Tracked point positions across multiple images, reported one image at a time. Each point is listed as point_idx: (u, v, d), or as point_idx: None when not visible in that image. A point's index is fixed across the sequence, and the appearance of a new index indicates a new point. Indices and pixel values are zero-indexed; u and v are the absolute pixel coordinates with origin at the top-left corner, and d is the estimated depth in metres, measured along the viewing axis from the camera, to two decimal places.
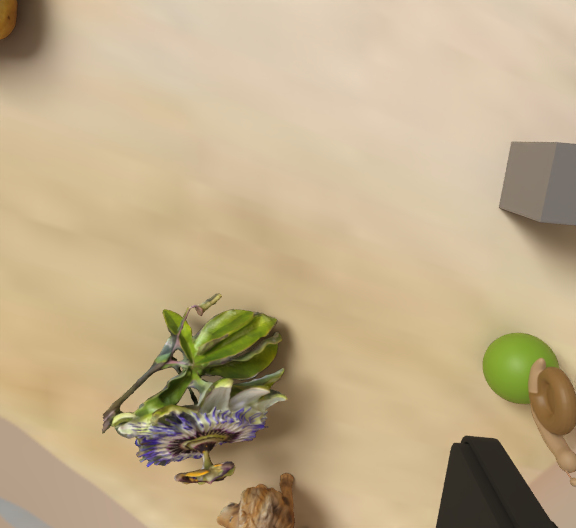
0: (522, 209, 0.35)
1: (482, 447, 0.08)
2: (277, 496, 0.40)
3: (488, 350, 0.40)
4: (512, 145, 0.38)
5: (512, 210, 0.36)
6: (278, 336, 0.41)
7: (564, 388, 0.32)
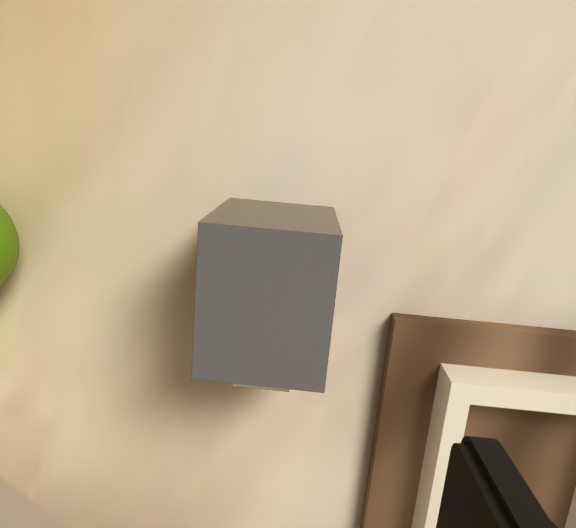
0: (225, 210, 0.20)
1: (482, 447, 0.08)
2: None
3: None
4: (328, 207, 0.24)
5: (223, 205, 0.22)
6: None
7: None
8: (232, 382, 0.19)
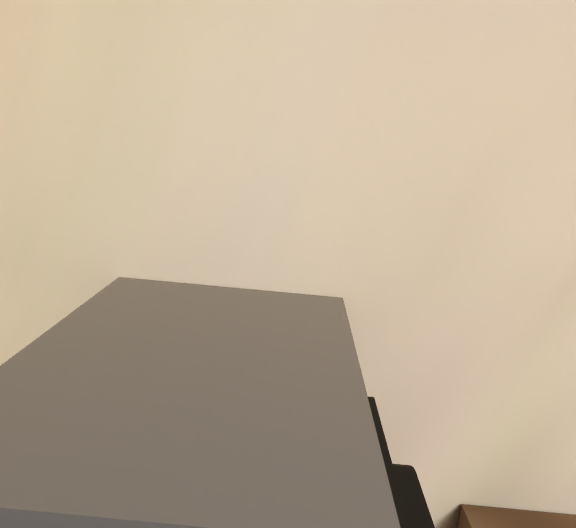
0: (49, 354, 0.07)
1: None
2: None
3: None
4: (331, 301, 0.11)
5: (74, 317, 0.09)
6: None
7: None
8: None
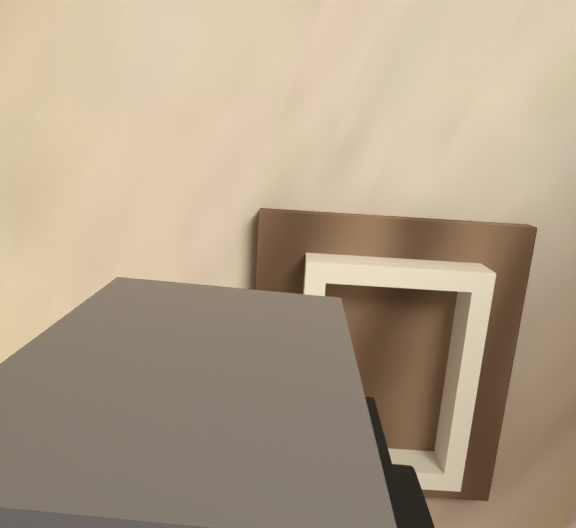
0: (46, 354, 0.07)
1: None
2: None
3: None
4: (329, 300, 0.11)
5: (72, 317, 0.09)
6: None
7: None
8: None
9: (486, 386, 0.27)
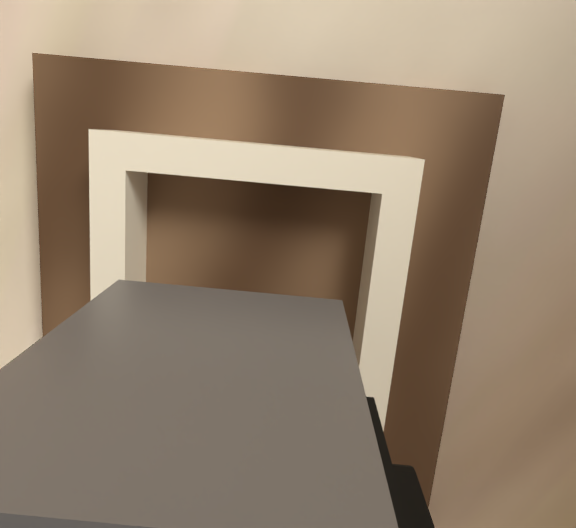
0: (49, 357, 0.07)
1: None
2: None
3: None
4: (330, 303, 0.11)
5: (73, 320, 0.09)
6: None
7: None
8: None
9: (418, 365, 0.17)
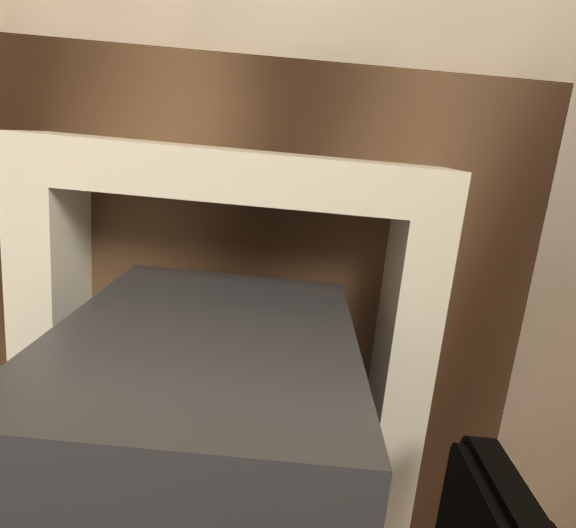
0: (81, 328, 0.08)
1: (481, 446, 0.08)
2: None
3: None
4: (331, 286, 0.12)
5: (98, 298, 0.10)
6: None
7: None
8: None
9: (450, 438, 0.13)
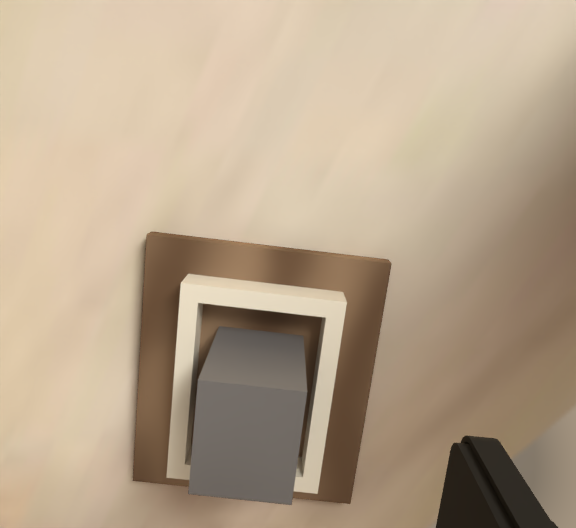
0: (216, 354, 0.26)
1: (482, 447, 0.08)
2: None
3: None
4: (298, 337, 0.29)
5: (215, 342, 0.27)
6: None
7: None
8: (220, 496, 0.24)
9: (348, 400, 0.31)
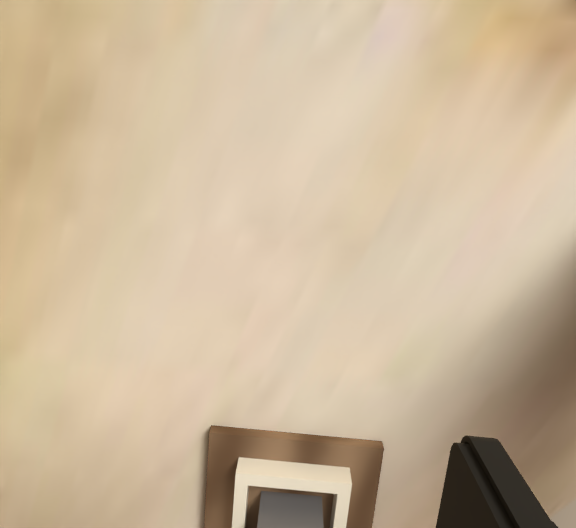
0: None
1: (482, 447, 0.08)
2: None
3: None
4: (318, 498, 0.41)
5: (260, 513, 0.39)
6: None
7: None
8: None
9: None
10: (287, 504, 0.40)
